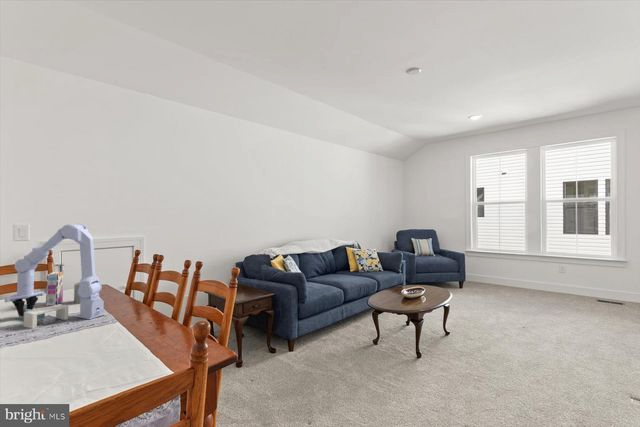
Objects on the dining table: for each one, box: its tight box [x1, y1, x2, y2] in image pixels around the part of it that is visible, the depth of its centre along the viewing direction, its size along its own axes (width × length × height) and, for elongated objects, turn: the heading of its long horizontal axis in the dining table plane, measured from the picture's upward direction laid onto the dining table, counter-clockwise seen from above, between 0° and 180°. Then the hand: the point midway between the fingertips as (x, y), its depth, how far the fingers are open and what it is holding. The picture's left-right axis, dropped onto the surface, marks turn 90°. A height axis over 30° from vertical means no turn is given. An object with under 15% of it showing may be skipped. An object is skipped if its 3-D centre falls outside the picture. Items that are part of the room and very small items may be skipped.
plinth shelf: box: [23, 303, 69, 329], centre depth 147 cm, size 6×14×6 cm, turn 159°
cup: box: [73, 282, 81, 305], centre depth 183 cm, size 8×8×10 cm
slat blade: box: [18, 307, 46, 319], centre depth 152 cm, size 15×2×4 cm, turn 69°
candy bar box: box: [45, 271, 65, 307], centre depth 177 cm, size 11×5×16 cm, turn 25°
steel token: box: [37, 315, 57, 325], centre depth 147 cm, size 5×5×2 cm
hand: (24, 314), depth 153 cm, fingers open, 3 cm apart
